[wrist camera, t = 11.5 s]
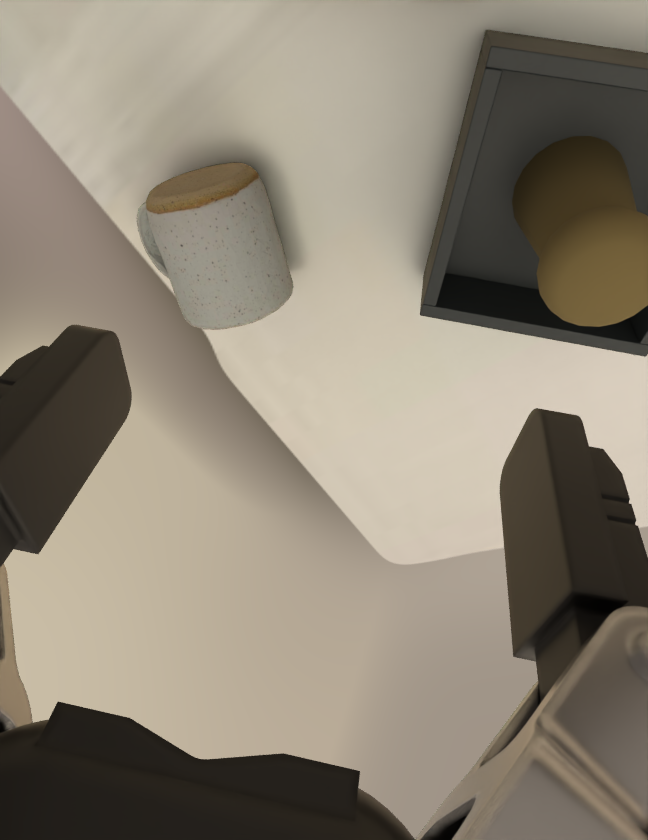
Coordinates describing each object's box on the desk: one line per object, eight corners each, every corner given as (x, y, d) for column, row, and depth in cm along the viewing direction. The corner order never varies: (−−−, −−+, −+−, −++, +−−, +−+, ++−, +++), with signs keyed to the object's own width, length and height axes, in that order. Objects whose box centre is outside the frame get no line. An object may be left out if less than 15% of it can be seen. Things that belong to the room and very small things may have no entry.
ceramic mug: (272, 145, 31) (230, 191, 26) (306, 270, 36) (277, 330, 31) (125, 177, 34) (60, 223, 29) (176, 287, 40) (129, 344, 34)
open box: (485, 29, 26) (490, 45, 22) (767, 70, 25) (821, 94, 21) (423, 275, 35) (419, 315, 32) (625, 312, 34) (646, 356, 31)
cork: (649, 144, 27) (727, 230, 19) (597, 251, 31) (644, 358, 24) (533, 127, 28) (564, 205, 20) (498, 236, 32) (511, 335, 24)
